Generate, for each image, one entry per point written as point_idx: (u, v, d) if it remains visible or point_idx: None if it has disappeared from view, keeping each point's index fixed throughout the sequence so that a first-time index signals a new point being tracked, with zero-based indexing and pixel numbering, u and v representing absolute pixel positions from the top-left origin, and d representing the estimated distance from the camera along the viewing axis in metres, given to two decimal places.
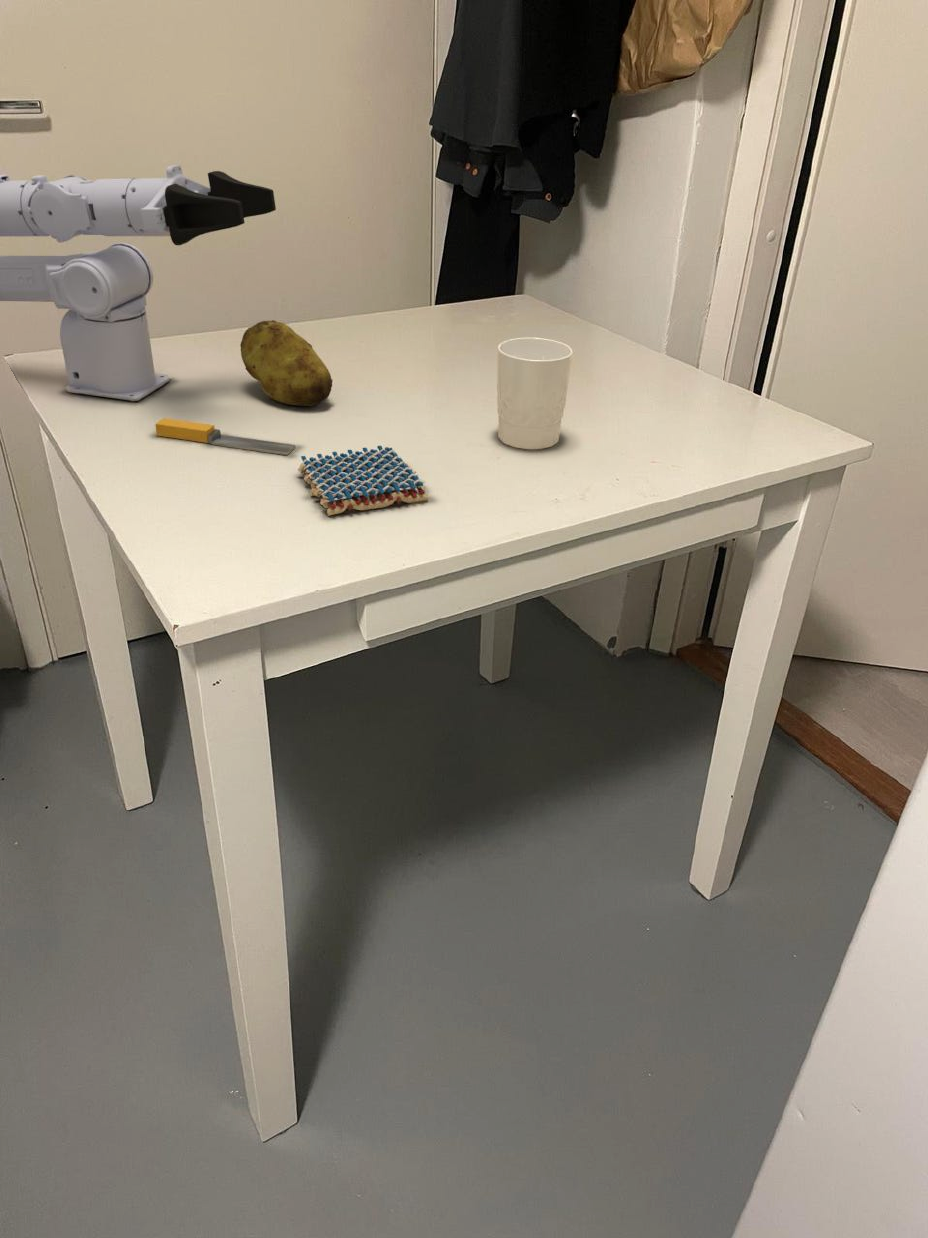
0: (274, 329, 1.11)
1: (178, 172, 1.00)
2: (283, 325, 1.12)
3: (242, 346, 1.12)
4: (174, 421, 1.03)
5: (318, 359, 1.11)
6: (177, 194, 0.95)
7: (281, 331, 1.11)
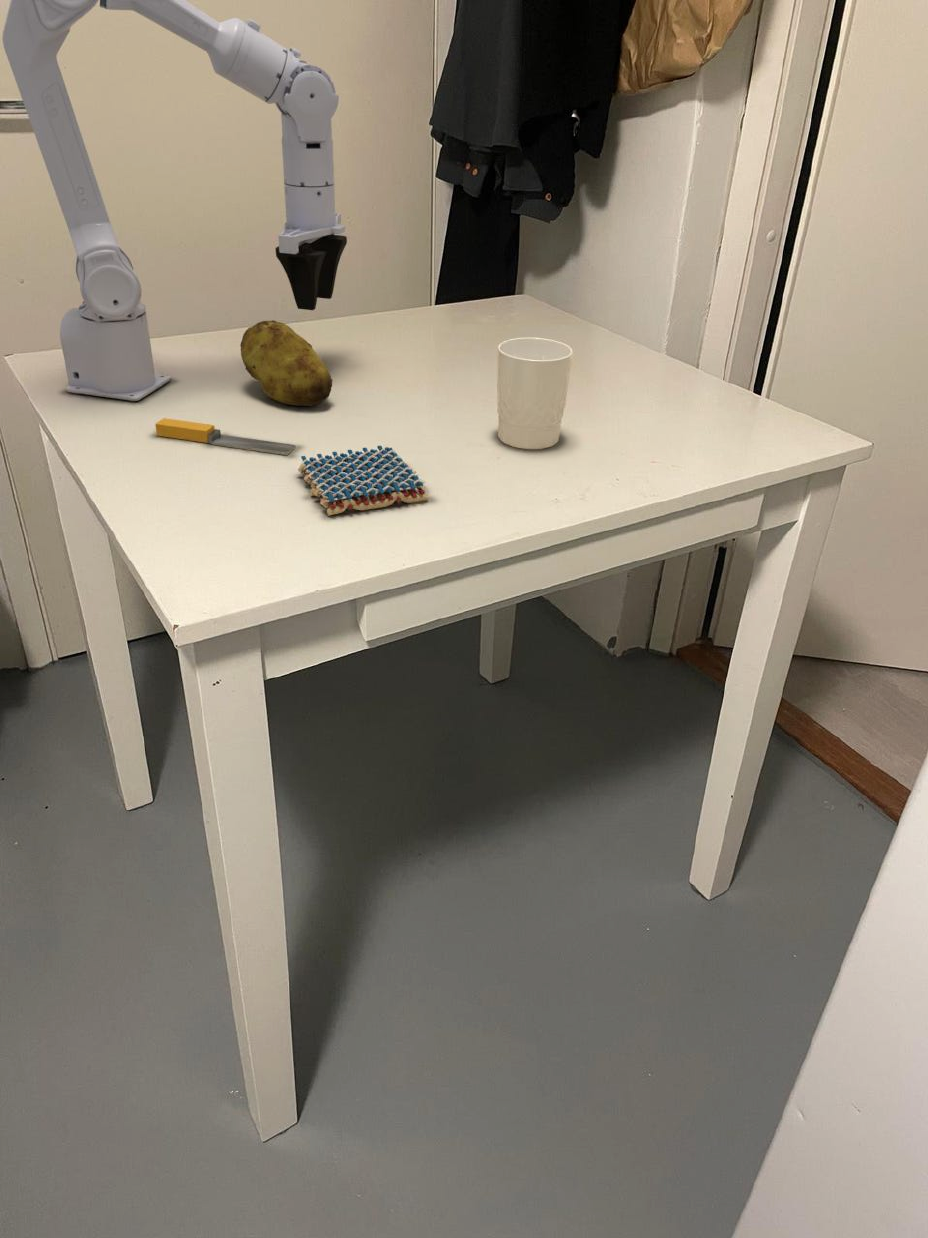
0: (274, 329, 1.11)
1: None
2: (283, 325, 1.12)
3: (242, 346, 1.12)
4: (174, 421, 1.03)
5: (318, 359, 1.11)
6: (314, 265, 1.11)
7: (281, 331, 1.11)
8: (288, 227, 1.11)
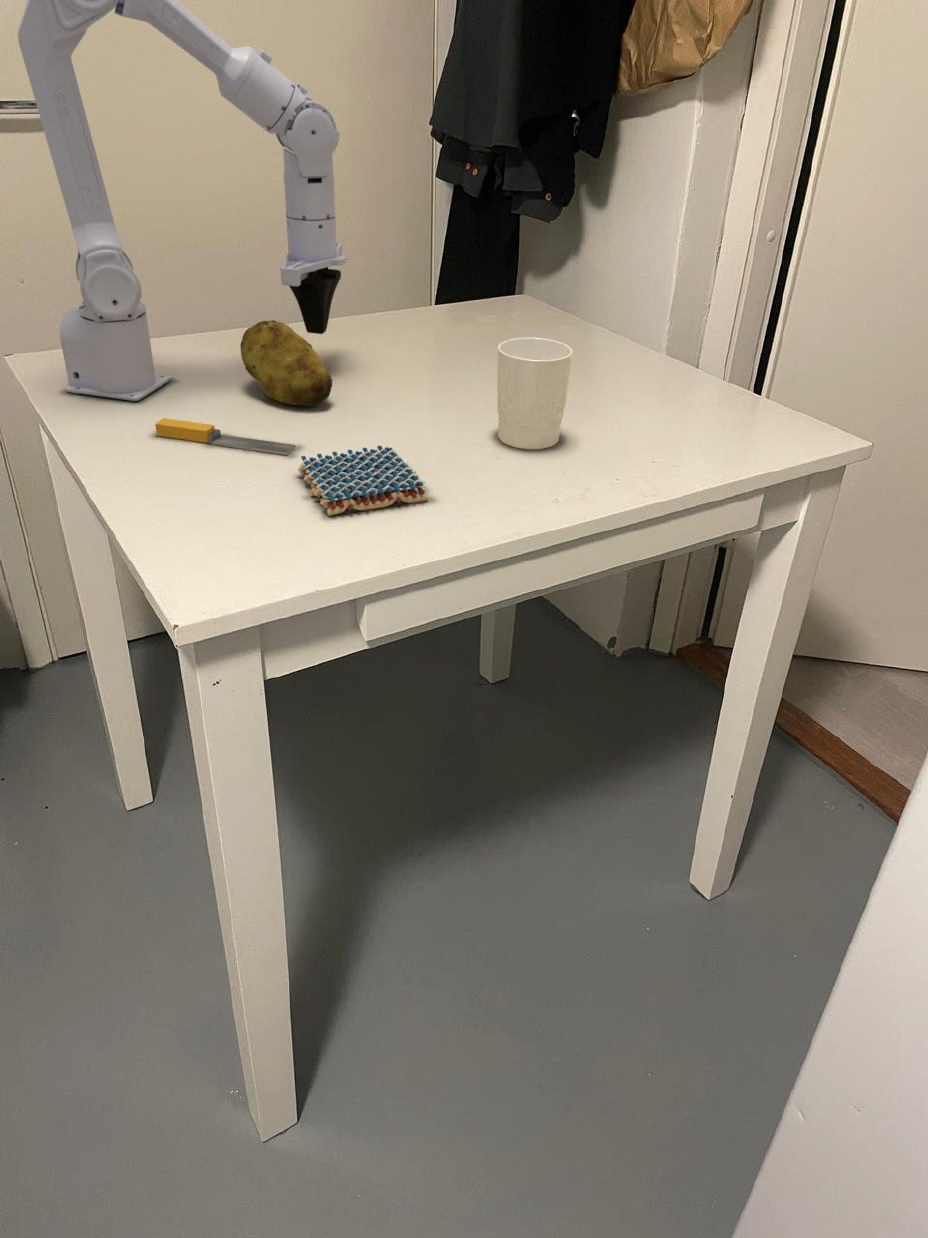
0: (274, 329, 1.11)
1: None
2: (283, 325, 1.12)
3: (242, 346, 1.12)
4: (174, 421, 1.03)
5: (318, 359, 1.11)
6: (323, 291, 1.15)
7: (281, 331, 1.11)
8: (290, 259, 1.13)
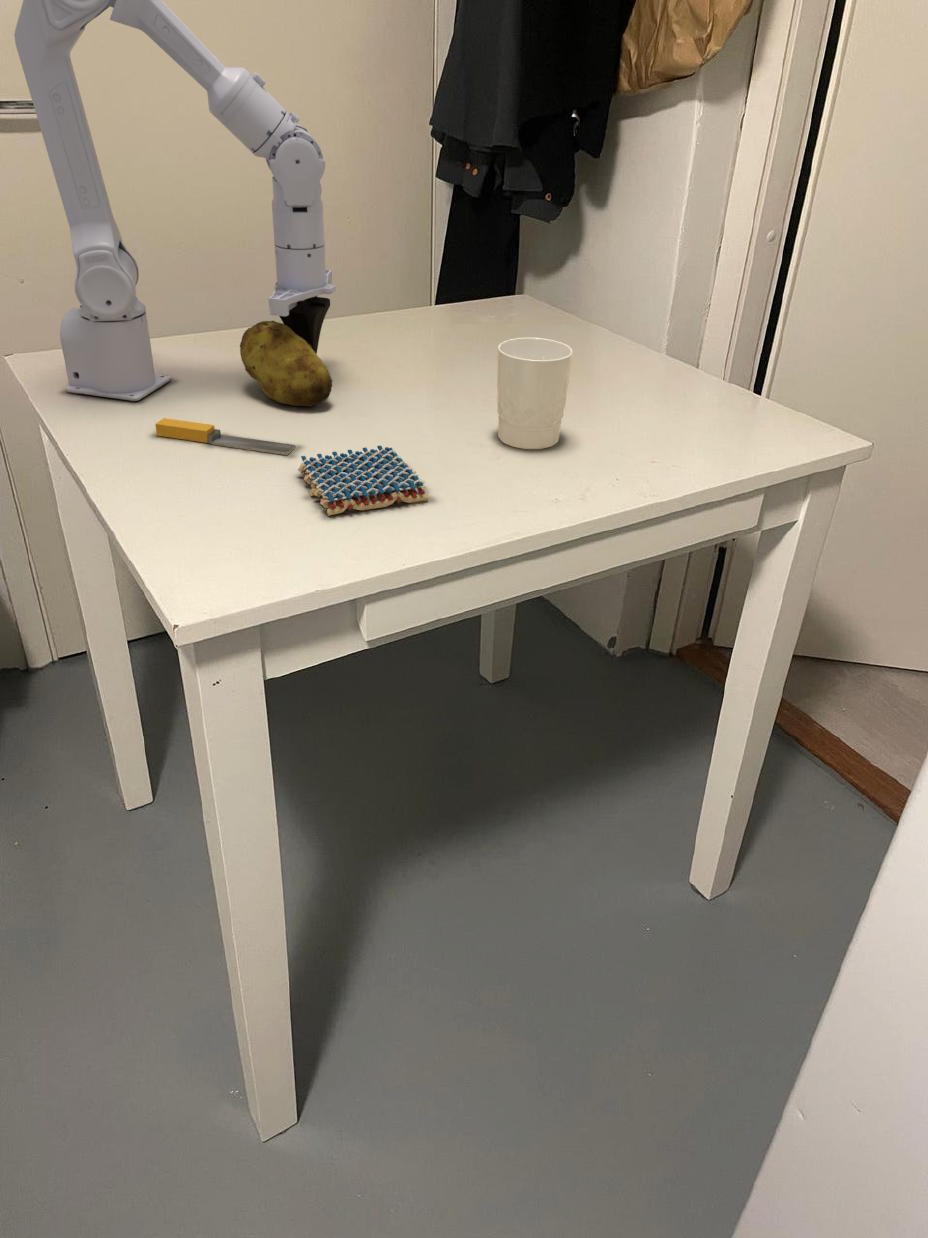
0: (273, 330, 1.11)
1: None
2: (282, 325, 1.12)
3: (242, 347, 1.12)
4: (174, 421, 1.03)
5: (318, 359, 1.11)
6: (312, 320, 1.13)
7: (281, 331, 1.11)
8: (278, 288, 1.11)
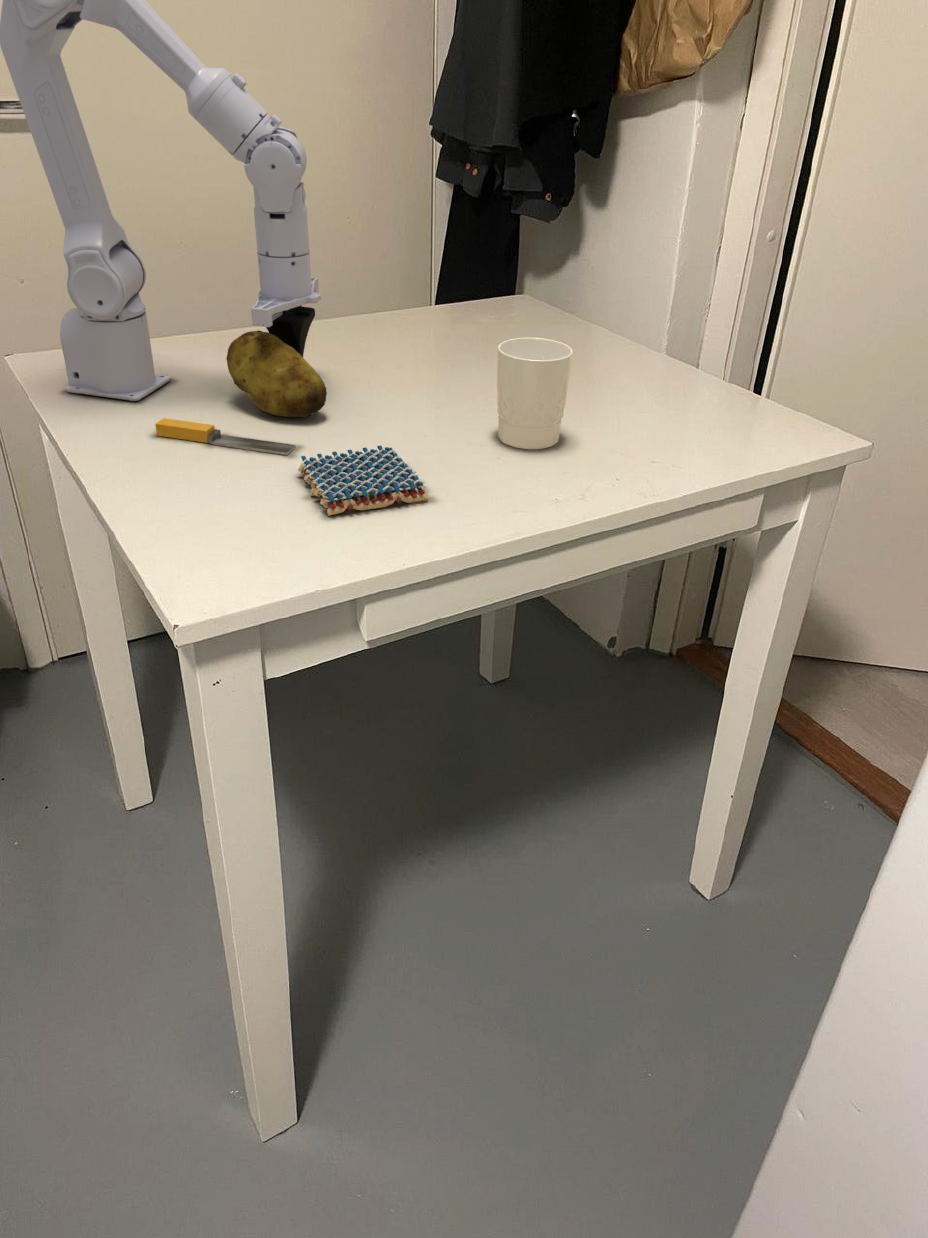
0: (261, 340, 1.07)
1: None
2: (270, 335, 1.08)
3: (229, 360, 1.08)
4: (174, 421, 1.03)
5: (310, 367, 1.07)
6: (298, 329, 1.09)
7: (269, 341, 1.07)
8: (262, 297, 1.08)
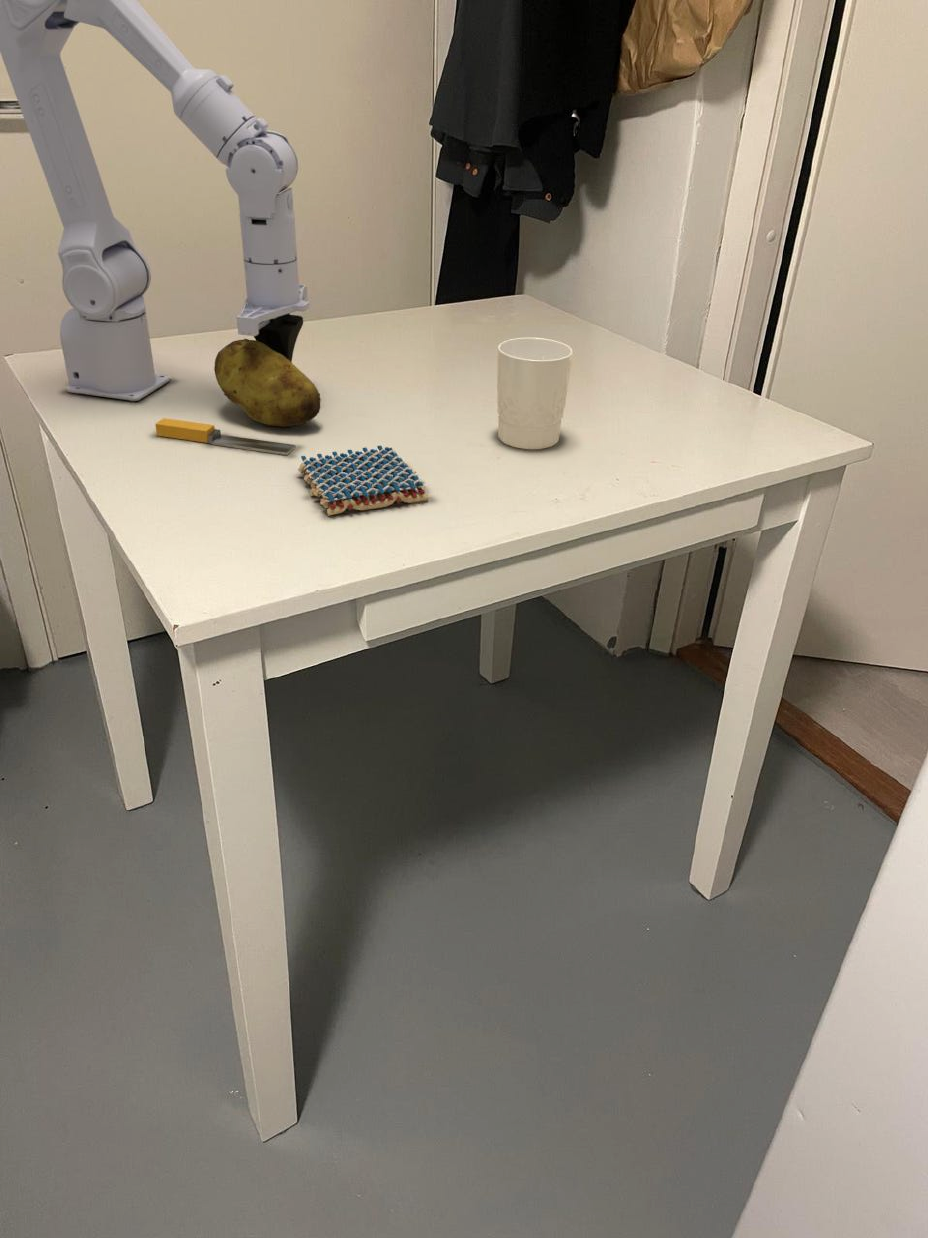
0: (249, 349, 1.04)
1: None
2: (257, 343, 1.05)
3: (217, 371, 1.05)
4: (174, 421, 1.03)
5: (302, 374, 1.05)
6: (286, 337, 1.07)
7: (258, 350, 1.04)
8: (248, 305, 1.05)
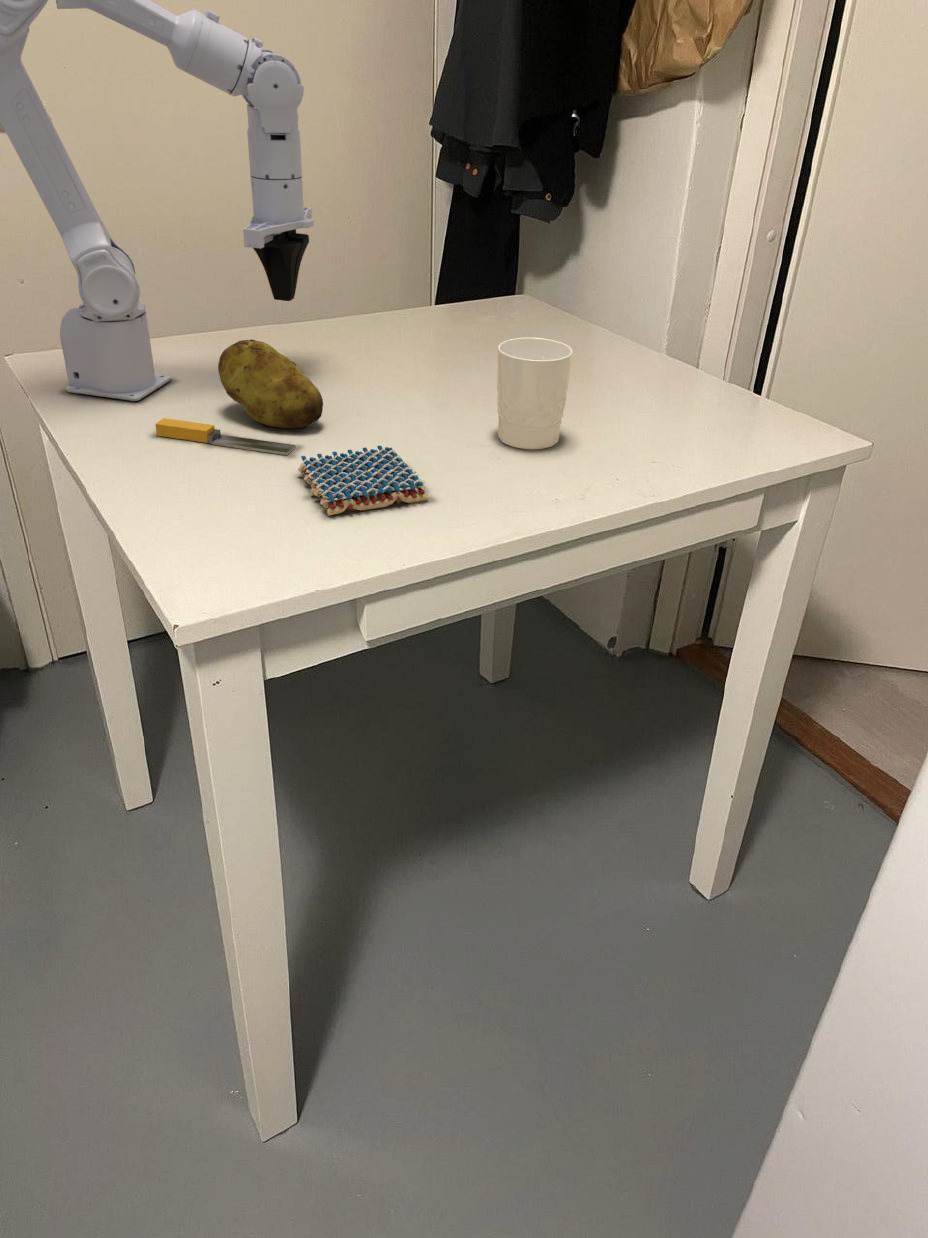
0: (256, 349, 1.05)
1: None
2: (264, 344, 1.06)
3: (221, 368, 1.05)
4: (174, 421, 1.03)
5: (306, 378, 1.05)
6: (289, 255, 1.10)
7: (264, 350, 1.05)
8: (255, 221, 1.09)
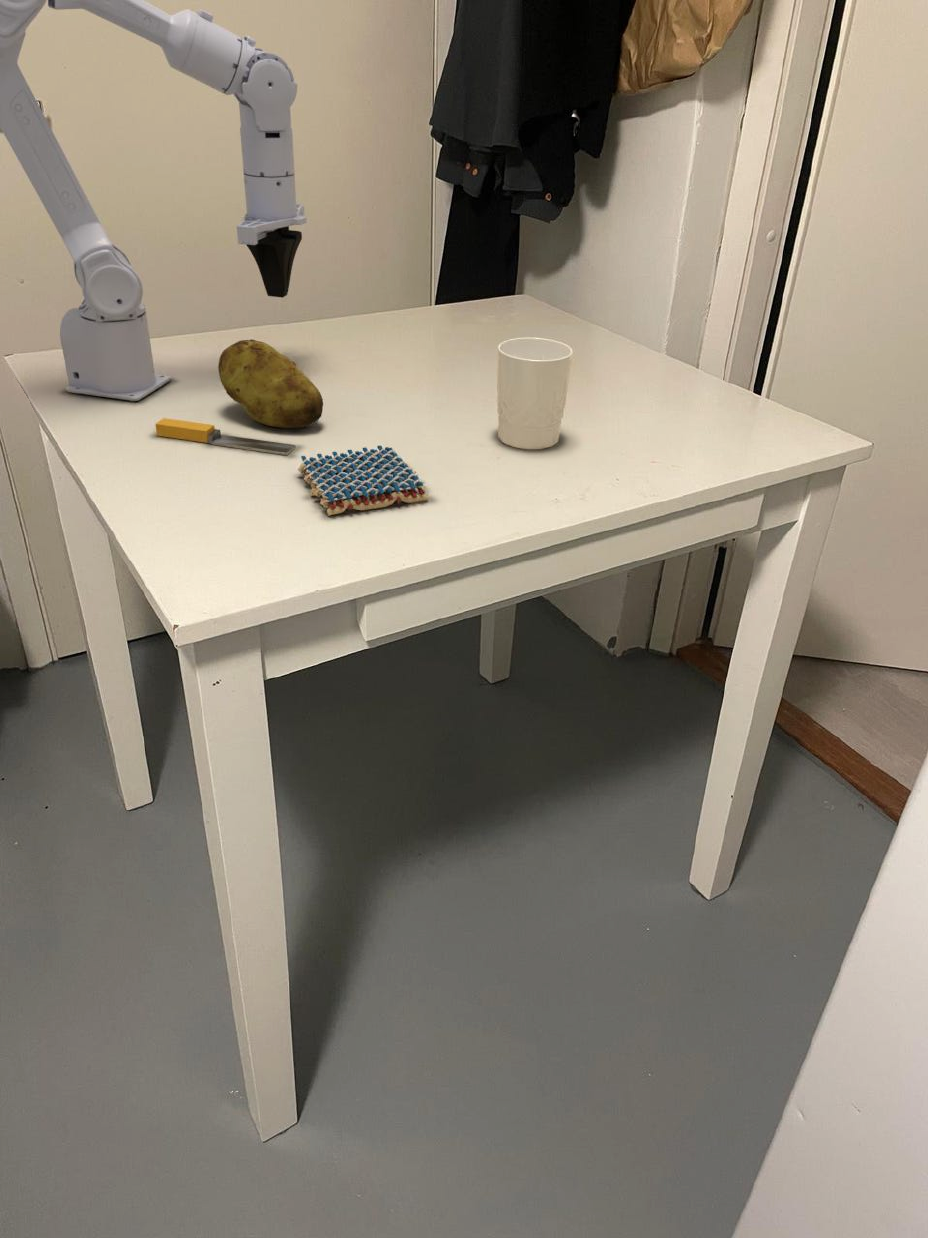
0: (256, 349, 1.05)
1: None
2: (264, 344, 1.06)
3: (222, 368, 1.05)
4: (174, 421, 1.03)
5: (306, 378, 1.05)
6: (282, 251, 1.11)
7: (264, 350, 1.05)
8: (248, 218, 1.10)
